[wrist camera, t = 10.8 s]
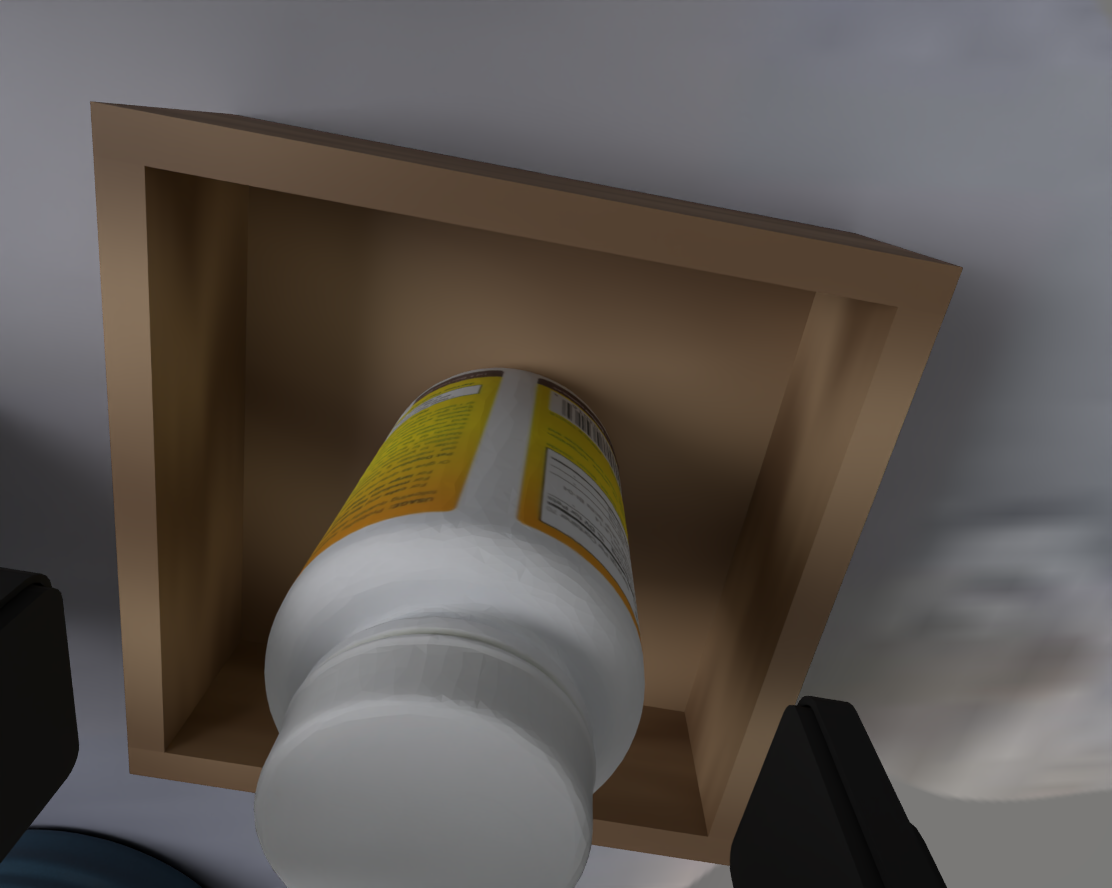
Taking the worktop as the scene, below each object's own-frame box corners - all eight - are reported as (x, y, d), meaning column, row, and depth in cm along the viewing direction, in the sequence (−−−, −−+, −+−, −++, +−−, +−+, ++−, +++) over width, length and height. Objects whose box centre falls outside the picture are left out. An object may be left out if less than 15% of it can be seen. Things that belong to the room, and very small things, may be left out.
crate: (232, 114, 16) (89, 101, 11) (855, 233, 16) (963, 268, 12) (227, 636, 21) (129, 774, 17) (700, 712, 22) (732, 866, 17)
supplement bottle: (370, 534, 19) (154, 936, 9) (419, 329, 17) (204, 575, 7) (579, 592, 19) (578, 1033, 10) (651, 399, 17) (740, 719, 8)
